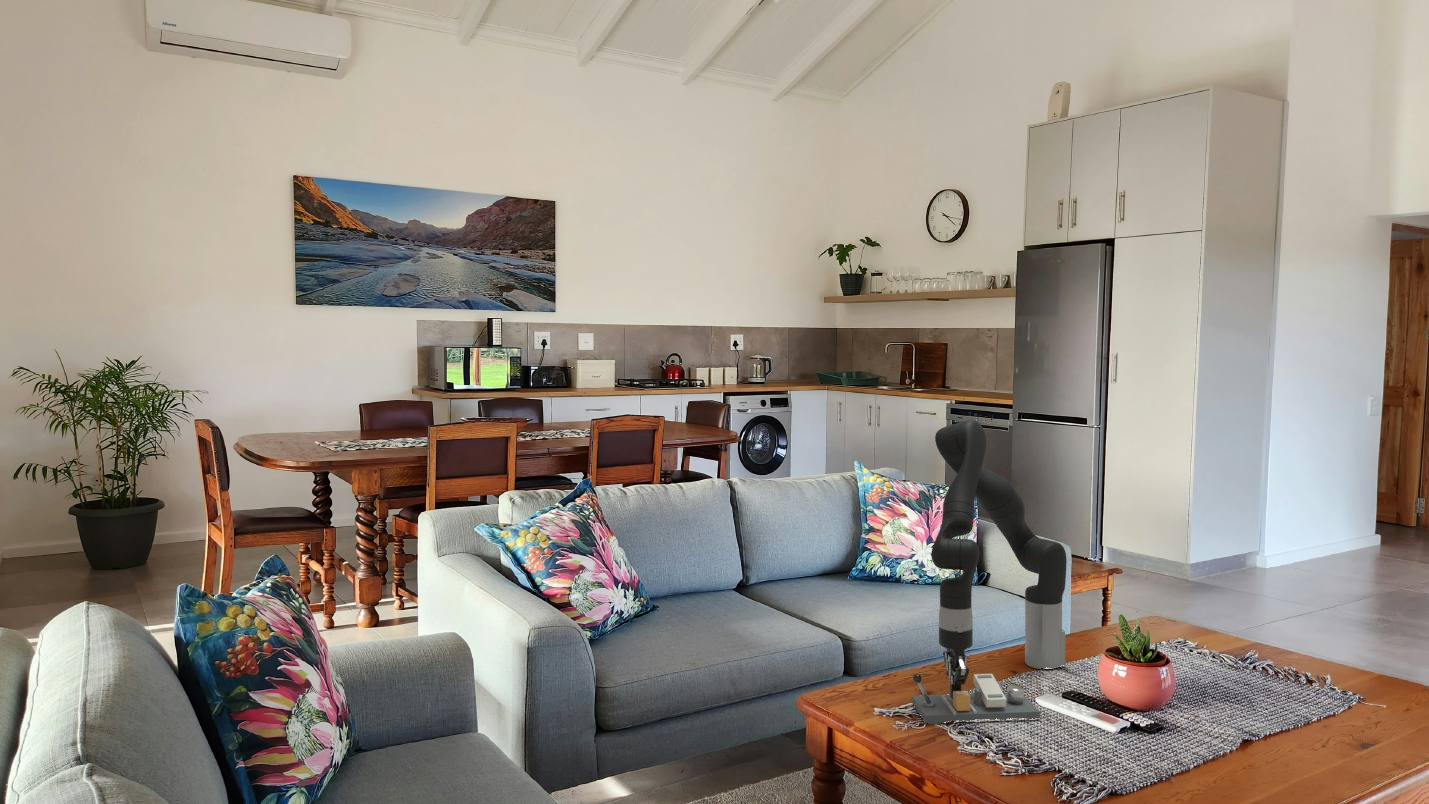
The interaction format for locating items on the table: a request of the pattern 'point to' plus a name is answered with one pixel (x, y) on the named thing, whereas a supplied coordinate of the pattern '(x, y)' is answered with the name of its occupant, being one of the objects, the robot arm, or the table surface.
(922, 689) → the toggle
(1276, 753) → the table surface
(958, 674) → the robot arm
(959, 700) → the slider
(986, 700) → the block
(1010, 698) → the button
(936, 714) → the panel
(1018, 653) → the table surface
